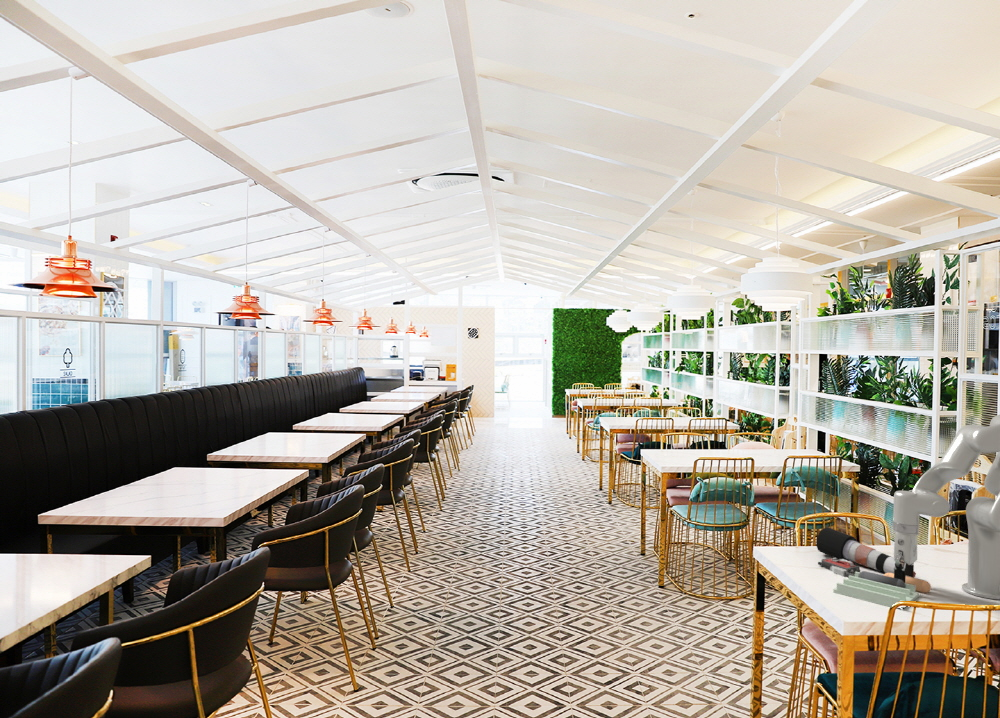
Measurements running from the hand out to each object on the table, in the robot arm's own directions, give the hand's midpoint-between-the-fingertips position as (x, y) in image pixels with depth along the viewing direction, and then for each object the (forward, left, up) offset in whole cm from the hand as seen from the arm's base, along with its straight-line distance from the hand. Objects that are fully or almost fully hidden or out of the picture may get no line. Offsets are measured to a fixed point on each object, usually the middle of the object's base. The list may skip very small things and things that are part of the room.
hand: (903, 578), depth 218 cm
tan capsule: (-1, -1, -1) cm, 2 cm away
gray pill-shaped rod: (+4, +8, 0) cm, 9 cm away
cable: (+16, -15, -4) cm, 22 cm away
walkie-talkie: (+19, -2, -4) cm, 19 cm away
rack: (+4, +14, -3) cm, 15 cm away
